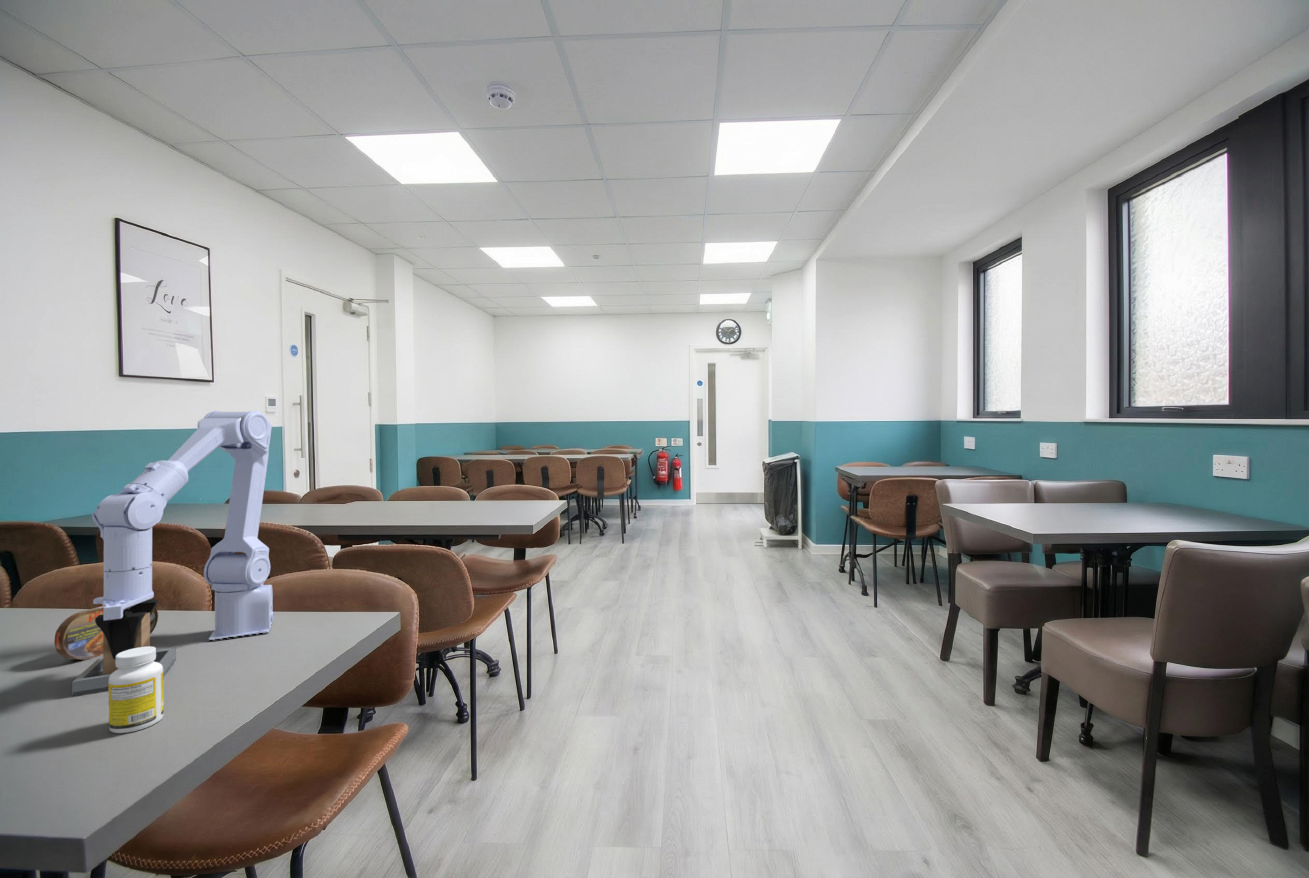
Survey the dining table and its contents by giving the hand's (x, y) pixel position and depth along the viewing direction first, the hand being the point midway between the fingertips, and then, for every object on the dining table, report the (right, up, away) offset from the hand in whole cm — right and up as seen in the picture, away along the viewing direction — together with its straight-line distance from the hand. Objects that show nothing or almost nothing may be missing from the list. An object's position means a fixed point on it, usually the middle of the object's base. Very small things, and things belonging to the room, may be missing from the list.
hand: (128, 652), depth 90 cm
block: (0, -3, 0) cm, 3 cm away
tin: (-15, -4, +12) cm, 19 cm away
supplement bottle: (+15, -4, -15) cm, 22 cm away
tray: (0, -4, 0) cm, 4 cm away
